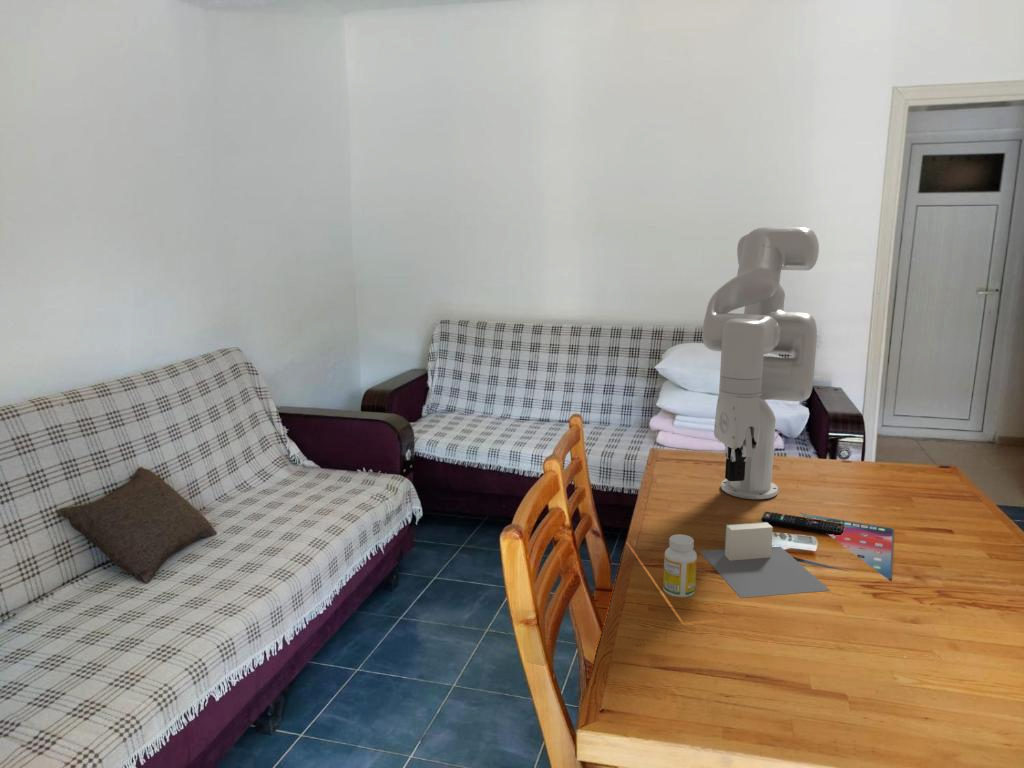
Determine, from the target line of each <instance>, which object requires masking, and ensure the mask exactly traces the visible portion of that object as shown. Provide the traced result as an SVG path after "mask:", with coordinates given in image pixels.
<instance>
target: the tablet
mask: <svg viewBox="0 0 1024 768" xmlns="http://www.w3.org/2000/svg"><path fill="white" fill-rule="evenodd" d="M799 514H800V515H801V516H802V517H804V518H805V519H807V518H814V519H820V520H826V521H831V522H837V523H843V524H844V526H845V530H844V532H843V533H842V534H841V535H834V534H827V535H828V536H829V537H831V538H832V539H833V540H835V542H837V543H838V544H840V545H842V546H843V547H844V548H845V549H847V550H848V551H849V552H850V553H852V554H853V555H855V556H856V557H858V558H859V559H860V560H861V561H862V562H864V563H866V565H869V566H870V568H872V569H873V570H875V571H876V572H878V573H879V574H880V575H881V576H883V577H884V578H885V579H887V580H888V581H889V582H890V581H892V580H893V565H894V543H895V529H893V528H892V527H887V526H880V525H875V524H869V523H862V522H857V521H856V522H855V521H850V520H845V519H837V518H832V517H826V516H821V515H820V516H819V515H813V514H807V513H802V512H801V513H800V512H799ZM792 557H793V558H794V559H795V560H796V561H797V562H799V563H800V564H807V565H813V566H818V567H823V568H828V569H833V570H838V571H844V572H847V570H845V569H842V568H838V567H834V566H830V565H827V564H823V563H819V562H814V561H810V560H808V559H803V558H799V557H795V556H792ZM848 572H849V573H850V572H851V571H849V570H848Z"/></svg>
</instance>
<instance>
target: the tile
mask: <svg viewBox="0 0 1024 768" xmlns="http://www.w3.org/2000/svg"><path fill="white" fill-rule="evenodd" d="M773 531H774V527H773V526H772V525H771V524H770V523H769V522H767V521H762V522H751V523H750V522H749V523H748V522H746V523H733V524H725V535H724V536H725V537H724V549H725V552H724V555H725V556H726V557H727V558H728V559H729V560H743V559H756V558H769V557H771V547H772V546H773V544H772V543H773Z"/></svg>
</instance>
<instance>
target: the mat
mask: <svg viewBox="0 0 1024 768" xmlns="http://www.w3.org/2000/svg"><path fill="white" fill-rule="evenodd" d="M724 552H725V548H723V549H709V550H708V549H707V550H699V553H700V554H701V555H702V556H703V557H704V559H705V560H706V561H707V562H708V563H709V564H710V565H711V567H712V568H713V569H714V570H715V571H716V572H717V573H718V574H719V575H720V576H721V578H723V580H724V581H725V582H726V583H727V585H728V586H730V588H731V589H732V590H733V591H734V592H735V593H736V595H737V596H738V597H739V599H746V598H758V597H770V596H782V595H783V596H785V595H792V594H794V595H795V594H806V593H815V592H816V593H818V592H830V591H831V589H830V588H829V587H827V585H825V584H824V583H823V582H822V581H821V580H819V579H818V578H817V577H816V576H814V575H813V573H812V572H810V571H809V570H808V569H806V568H805V567H804V566H803V565H802V563H801V562H797V561H796V560H795V559H794V558H793V557H794V556H792V555H791V554H790V553H788V552H787V551H786V550H785V549H784V548H783V547H782V546H780V547H771V557H769V558H756V559H743V560H729V559H728V558H727V557H726V556H725V555H724Z"/></svg>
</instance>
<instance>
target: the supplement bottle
mask: <svg viewBox="0 0 1024 768" xmlns="http://www.w3.org/2000/svg"><path fill="white" fill-rule="evenodd" d="M668 540H669V541H668V544H669V547H668V548H666V549H665V551H664V557H663V558H664V559H663V560H664V562H663V579H662V580H663V582H662V589H663V591H664V592H665V594H668V595H669V596H671V597H677V598H687V597H690V596H693V595H694V594H695V592H696V581H697V580H696V578H697V563H698V562H697V559H698V554H697V551H695V549H694V546H695V545H694V543H695V541H694V538H693V537H691V536H690V535H688V534H687V535H686V534H683V533H682V534H673V535H671V536H670V537H669V538H668Z"/></svg>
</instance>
